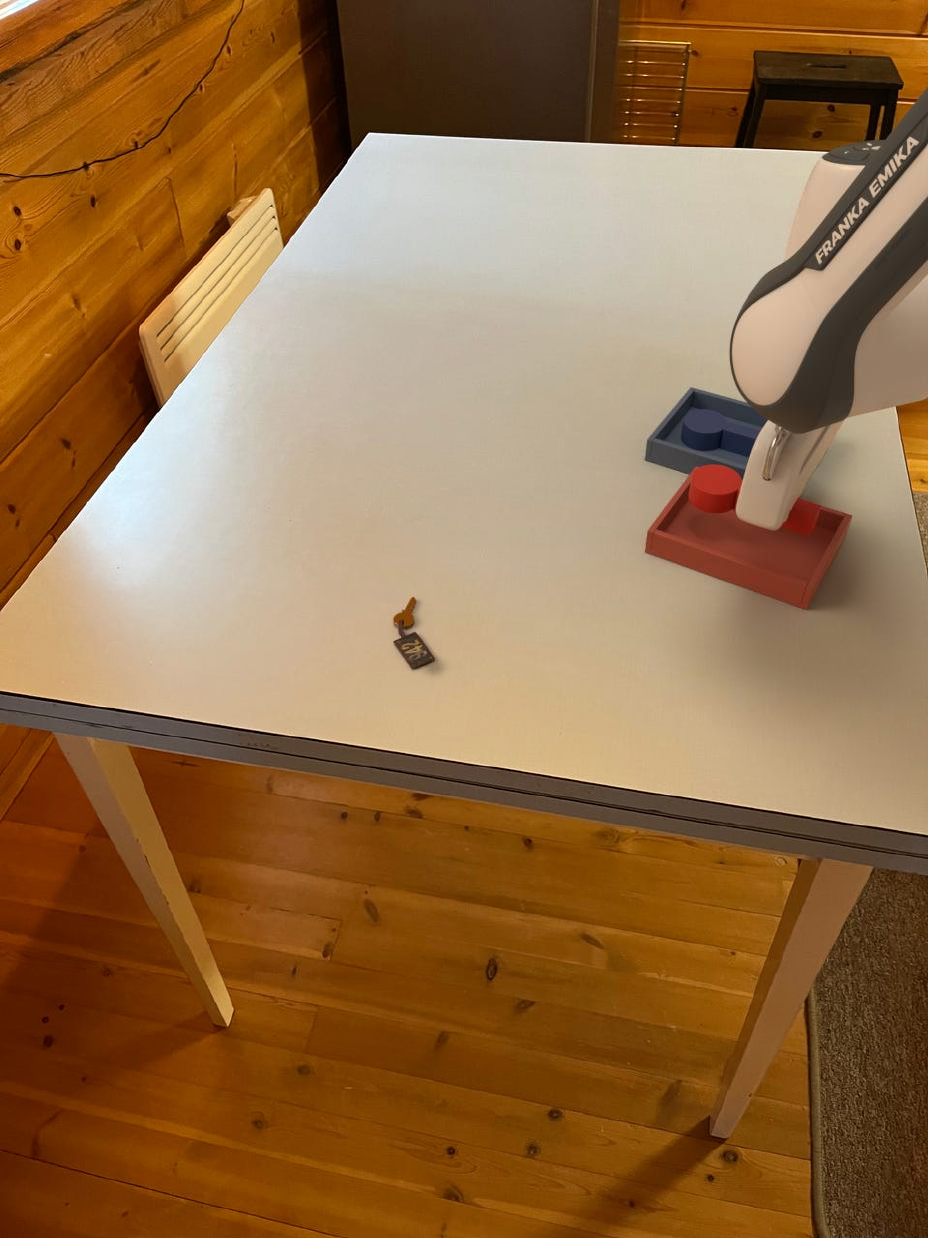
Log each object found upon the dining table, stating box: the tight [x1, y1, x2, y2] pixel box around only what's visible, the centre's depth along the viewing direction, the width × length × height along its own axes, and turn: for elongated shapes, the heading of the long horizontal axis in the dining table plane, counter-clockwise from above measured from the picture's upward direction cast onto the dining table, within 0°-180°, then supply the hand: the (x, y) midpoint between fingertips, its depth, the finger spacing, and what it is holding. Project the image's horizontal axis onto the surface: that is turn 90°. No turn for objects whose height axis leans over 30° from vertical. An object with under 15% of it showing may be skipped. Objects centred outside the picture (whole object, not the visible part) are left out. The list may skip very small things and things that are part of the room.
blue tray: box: [644, 386, 768, 481], centre depth 95 cm, size 15×11×3 cm
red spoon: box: [689, 465, 821, 536], centre depth 83 cm, size 11×4×2 cm, turn 57°
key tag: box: [392, 596, 436, 670], centre depth 80 cm, size 8×3×1 cm, turn 15°
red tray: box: [644, 466, 853, 610], centre depth 85 cm, size 15×11×3 cm
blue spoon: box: [681, 409, 760, 457], centre depth 95 cm, size 11×4×2 cm, turn 57°
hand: (783, 506), depth 81 cm, fingers closed on red spoon, 1 cm apart
